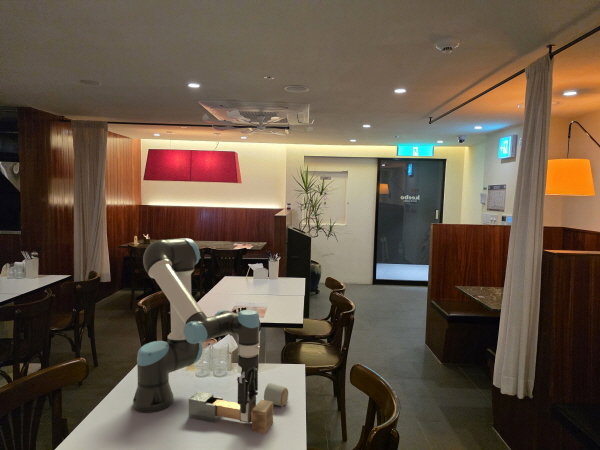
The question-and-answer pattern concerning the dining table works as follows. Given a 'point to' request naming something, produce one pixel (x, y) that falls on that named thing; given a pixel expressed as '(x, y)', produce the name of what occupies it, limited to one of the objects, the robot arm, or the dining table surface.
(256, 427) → the socket
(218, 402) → the tan wooden post
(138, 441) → the dining table surface
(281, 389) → the ceramic mug
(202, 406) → the sleeve
